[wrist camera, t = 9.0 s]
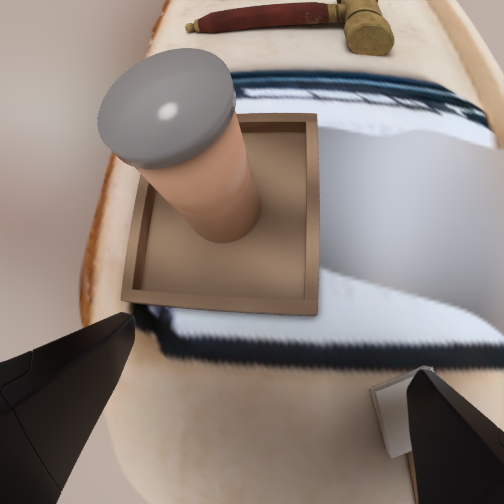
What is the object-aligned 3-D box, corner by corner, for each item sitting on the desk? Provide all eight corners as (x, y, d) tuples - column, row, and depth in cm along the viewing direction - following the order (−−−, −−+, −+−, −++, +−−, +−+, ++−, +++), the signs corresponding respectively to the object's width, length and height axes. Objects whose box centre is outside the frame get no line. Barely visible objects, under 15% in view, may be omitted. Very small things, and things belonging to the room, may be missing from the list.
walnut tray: (315, 316, 20) (317, 314, 18) (134, 303, 22) (120, 300, 20) (315, 129, 24) (316, 113, 22) (162, 134, 25) (153, 120, 23)
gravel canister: (277, 223, 22) (256, 109, 10) (204, 259, 22) (111, 183, 10) (243, 161, 23) (201, 32, 11) (176, 194, 23) (90, 90, 11)
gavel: (167, 41, 25) (187, -8, 27) (184, 70, 29) (199, 19, 32) (397, 25, 21) (375, -22, 23) (391, 59, 25) (373, 8, 27)
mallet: (446, 489, 16) (454, 497, 14) (398, 511, 16) (404, 521, 14) (423, 365, 18) (432, 367, 17) (369, 387, 19) (375, 392, 17)
